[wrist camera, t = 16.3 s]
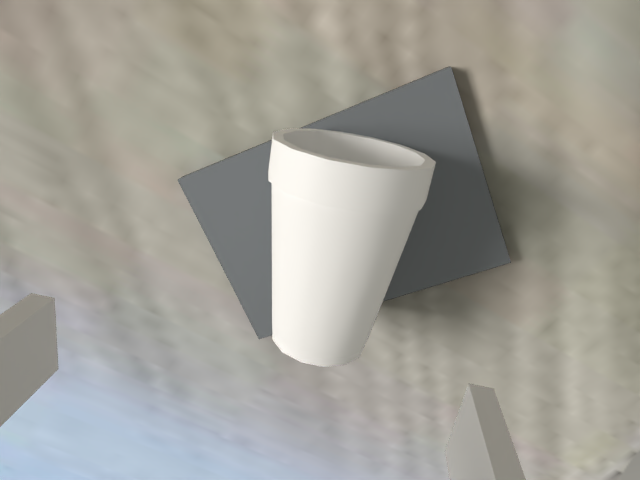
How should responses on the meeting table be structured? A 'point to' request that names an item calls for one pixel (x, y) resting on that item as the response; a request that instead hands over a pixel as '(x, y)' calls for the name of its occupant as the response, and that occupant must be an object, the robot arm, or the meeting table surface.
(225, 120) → the meeting table surface
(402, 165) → the foam cup
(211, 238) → the rubber mat
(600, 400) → the meeting table surface
